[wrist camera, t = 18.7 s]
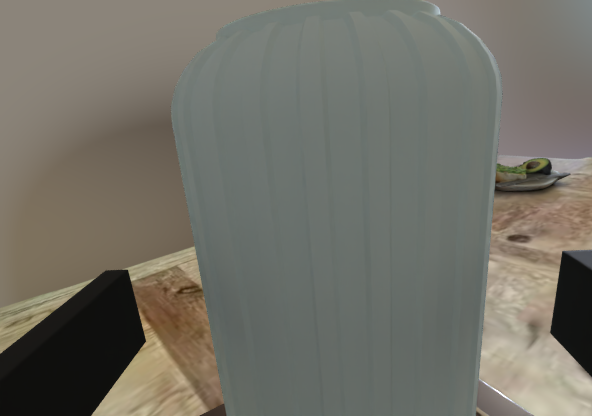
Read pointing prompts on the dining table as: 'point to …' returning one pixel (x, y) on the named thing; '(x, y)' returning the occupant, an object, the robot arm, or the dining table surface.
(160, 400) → the dining table surface
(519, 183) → the avocado toast plate
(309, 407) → the vase
